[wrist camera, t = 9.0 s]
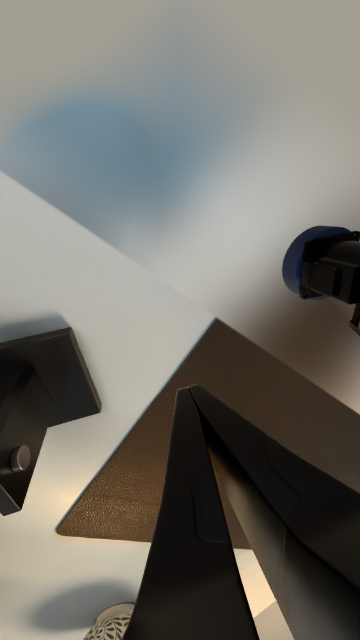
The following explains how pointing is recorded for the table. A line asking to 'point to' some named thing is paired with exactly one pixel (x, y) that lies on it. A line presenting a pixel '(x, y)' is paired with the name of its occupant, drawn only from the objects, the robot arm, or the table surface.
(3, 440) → the lever base
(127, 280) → the table surface
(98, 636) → the bowl
